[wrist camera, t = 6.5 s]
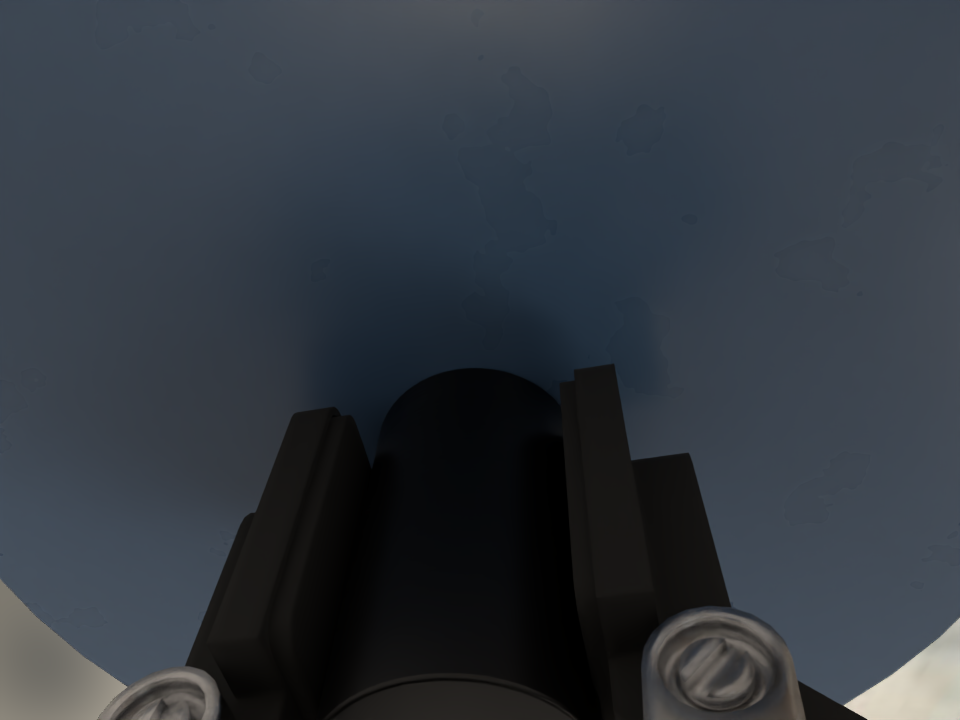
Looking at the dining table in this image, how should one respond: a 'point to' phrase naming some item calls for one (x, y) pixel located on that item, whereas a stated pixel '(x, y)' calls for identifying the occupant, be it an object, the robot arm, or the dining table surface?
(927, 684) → the dining table surface
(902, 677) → the dining table surface
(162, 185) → the lid
